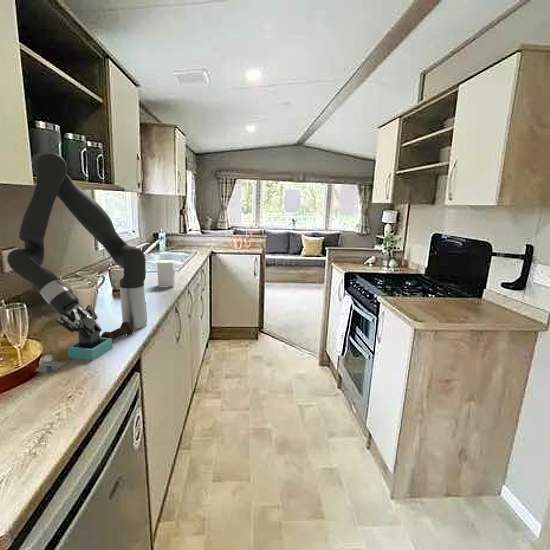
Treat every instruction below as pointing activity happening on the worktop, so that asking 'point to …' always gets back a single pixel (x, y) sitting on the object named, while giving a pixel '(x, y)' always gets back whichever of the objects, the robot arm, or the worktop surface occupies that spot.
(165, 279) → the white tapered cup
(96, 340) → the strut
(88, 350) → the bin
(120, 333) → the brown bone toy
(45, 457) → the worktop surface
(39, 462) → the worktop surface
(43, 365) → the stud plate
